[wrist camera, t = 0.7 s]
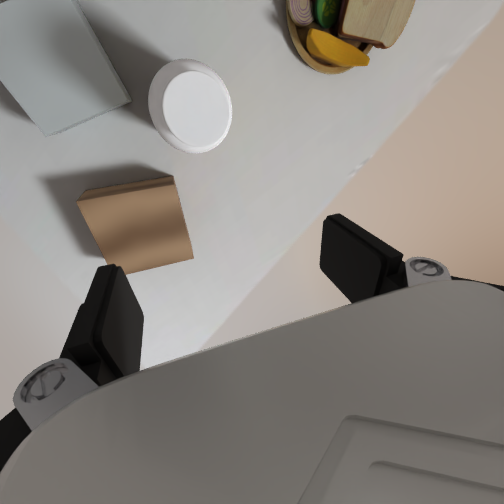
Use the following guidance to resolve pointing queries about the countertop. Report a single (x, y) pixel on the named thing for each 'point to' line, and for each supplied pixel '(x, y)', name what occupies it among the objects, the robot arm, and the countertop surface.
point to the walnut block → (138, 224)
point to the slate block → (56, 64)
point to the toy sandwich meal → (344, 30)
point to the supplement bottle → (190, 106)
